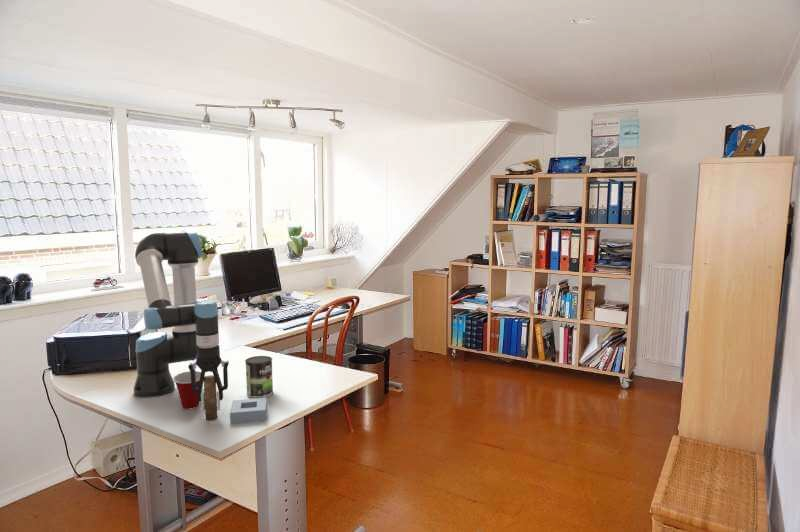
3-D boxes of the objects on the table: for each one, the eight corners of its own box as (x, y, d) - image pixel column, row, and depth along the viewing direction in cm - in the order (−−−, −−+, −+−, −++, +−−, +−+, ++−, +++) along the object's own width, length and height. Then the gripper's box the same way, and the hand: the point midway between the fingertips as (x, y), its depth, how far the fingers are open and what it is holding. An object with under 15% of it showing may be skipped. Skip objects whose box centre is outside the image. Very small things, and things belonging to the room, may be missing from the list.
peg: (204, 420, 187) (202, 379, 185) (206, 416, 191) (204, 375, 189) (216, 419, 188) (214, 378, 186) (218, 415, 191) (216, 374, 190)
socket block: (230, 424, 184) (229, 412, 183) (233, 410, 195) (232, 400, 195) (266, 420, 186) (265, 409, 186) (266, 407, 198) (266, 397, 198)
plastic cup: (173, 413, 193) (171, 381, 191) (176, 403, 203) (174, 372, 202) (205, 410, 196) (203, 378, 195) (206, 399, 206) (204, 369, 205)
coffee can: (278, 391, 215) (277, 358, 213) (259, 400, 206) (258, 364, 204) (260, 387, 220) (259, 354, 218) (241, 395, 211) (239, 360, 210)
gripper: (179, 350, 180) (182, 415, 183) (233, 346, 184) (236, 411, 187) (183, 344, 188) (186, 407, 190) (235, 341, 191) (237, 403, 194)
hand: (211, 409), depth 189 cm, fingers open, 4 cm apart
